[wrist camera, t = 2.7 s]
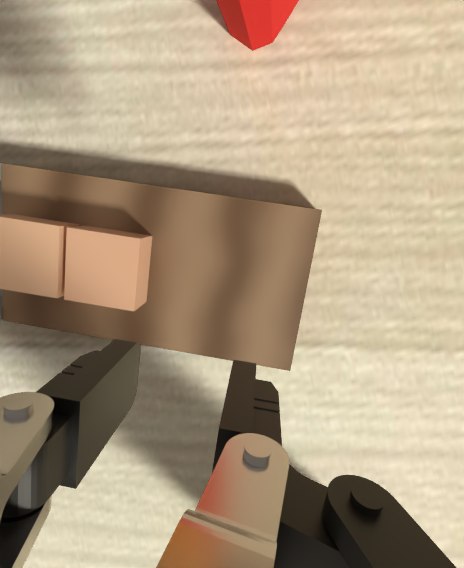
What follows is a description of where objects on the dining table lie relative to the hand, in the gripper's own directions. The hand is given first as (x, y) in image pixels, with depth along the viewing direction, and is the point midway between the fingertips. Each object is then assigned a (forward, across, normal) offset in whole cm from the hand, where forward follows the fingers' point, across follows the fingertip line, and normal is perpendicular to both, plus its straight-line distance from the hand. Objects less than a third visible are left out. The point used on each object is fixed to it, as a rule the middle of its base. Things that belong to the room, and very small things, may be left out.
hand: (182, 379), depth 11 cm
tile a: (+15, +8, 0) cm, 17 cm away
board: (+17, +6, 0) cm, 18 cm away
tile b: (+15, +14, 0) cm, 20 cm away
